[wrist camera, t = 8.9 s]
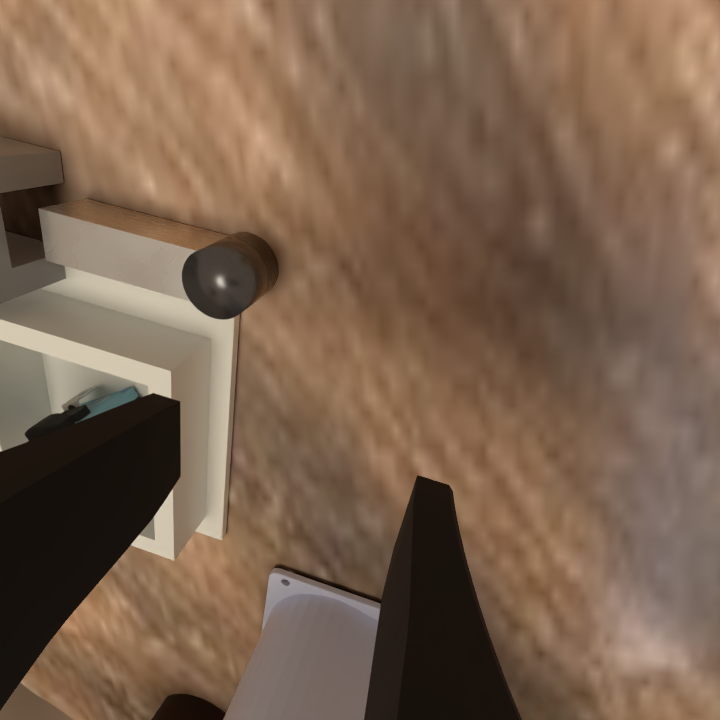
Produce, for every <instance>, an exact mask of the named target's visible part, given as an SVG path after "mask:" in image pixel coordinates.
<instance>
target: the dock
mask: <svg viewBox="0 0 720 720" xmlns="http://www.w3.org/2000/svg"><path fill="white" fill-rule="evenodd" d="M60 183H64V180H63V172H62V163H61V155H60V151H56V150H52V149H48V148H44V147H40V146H36V145H32V144H28V143H24V142H20V141H16V140H12V139H8V138H4V137H0V193H3V192H10V191H16V190H22V189H28V188H35V187H41V186H47V185H54V184H60ZM239 320H240V314H239V315H238V316H236V317H234V318H231V319H225V320H221V319H215V318H212V317H209V316H207V315H205V314H203V313H202V312H201V311H199V310H198V309H197V308H196V307H195V306H194V305H193V304H192V303H191V302H190V301H187V300H183V299H180V298H176V297H173V296H169V295H166V294H162V293H159V292H155V291H151V290H148V289H144V288H141V287H137V286H134V285H130V284H127V283H123V282H120V281H116V280H113V279H109V278H105V277H102V276H98V275H95V274H91V273H88V272H84V271H81V270H77V269H74V268H70V267H66V266H63V265H59V264H56V263H52V262H49V261H46V257H45V250H44V244H43V241H40V240H36V239H33V238H29V237H25V236H22V235H18V234H15V233H11V232H7V231H5V228H4V223H3V218H2V212H1V207H0V452H1V451H4V450H7V449H10V448H12V447H15V446H18V445H21V444H23V443H26V442H28V441H29V440H28V439H27V437H26V436H25V432H26V431H27V430H28V429H29V428H31V427H32V426H34V425H35V424H36V423H38V422H39V421H41V420H42V419H44V418H45V417H47V416H49V415H51V414H55V413H62V412H64V410H63V409H62V407H61V406H62V405H63V404H65V403H67V401H69V400H70V399H72V398H73V397H75V396H76V395H78V394H79V393H81V392H82V391H84V390H86V389H88V388H91V387H94V386H98V388H97V389H95V390H94V391H92V392H91V393H89V394H88V395H86V396H85V397H84V398H82V399H80V400H79V403H80V404H82V403H85V402H88V401H91V400H94V399H97V398H100V397H103V396H106V395H109V394H112V393H115V392H118V391H121V390H124V389H125V388H128V387H131V386H132V387H133V388H134V390H135V391H136V393H137V394H138V396H139V397H143V396H146V395H149V394H152V393H155V394H158V395H162V396H165V397H168V398H171V399H174V400H178V401H180V427H181V477H180V478H179V480H178V481H177V483H176V484H175V486H174V487H173V489H172V491H171V492H170V494H169V495H168V497H167V498H166V500H165V501H164V503H163V504H162V506H161V507H160V509H159V510H158V512H157V513H156V515H155V516H154V518H153V519H152V520H151V521H150V523H149V524H148V525H147V526H146V527H145V529H144V530H143V531H142V532H141V533H140V535H139V536H138V537H137V538H136V539H135V540H134V542H133V543H132V544H131V545H132V546H134V547H137V548H140V549H143V550H146V551H148V552H151V553H154V554H157V555H160V556H162V557H165V558H168V559H171V560H175V559H176V557H177V556H178V555H179V553H180V552H181V550H182V549H183V547H184V546H185V545H186V543H187V542H188V540H189V539H190V538H191V536H192V535H193V533H194V532H195V531H196V532H199V533H202V534H205V535H207V536H210V537H213V538H216V539H219V540H222V539H223V538H224V536H225V535H226V527H227V511H228V495H229V479H230V463H231V447H232V431H233V415H234V400H235V384H236V368H237V352H238V336H239Z"/></svg>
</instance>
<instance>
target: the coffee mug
mask: <svg viewBox="0 0 720 720" xmlns="http://www.w3.org/2000/svg"><path fill="white" fill-rule="evenodd" d="M224 717H225V713H224V712H223V711H221V710H220V709H219V708H217V707H216V706H214V705H212V704H211V703H209V702H207V701H205V700H202V699H200V698H197V697H194V696H190V695H184V694H174V695H171V696H169V697H167V698H166V699H165V701H164V702H163V704H162V705H161V707H160V708H159V710H158V711H157V712H156V714H155V715H154V717H153V718H152V720H223V719H224Z"/></svg>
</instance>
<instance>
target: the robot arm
mask: <svg viewBox="0 0 720 720" xmlns="http://www.w3.org/2000/svg"><path fill="white" fill-rule="evenodd" d="M180 477H181V427H180V401H178V400H174V399H171V398H168V397H165V396H162V395H158V394H155V393H152V394H149V395H146V396H143V397H140V398H138V399H135V400H133V401H130V402H127V403H125V404H122V405H120V406H117V407H115V408H112V409H110V410H107V411H105V412H103V413H100V414H98V415H95V416H93V417H90V418H88V419H85V420H83V421H80V422H78V423H75V424H73V425H70V426H68V427H65V428H63V429H60V430H58V431H55V432H52V433H50V434H47V435H45V436H42V437H40V438H37V439H35V440H32V441H29V442H26V443H23V444H21V445H18V446H15V447H12V448H10V449H7V450H4V451H1V452H0V710H1V709H2V707H3V706H4V704H5V703H6V701H7V700H8V699H9V697H10V696H11V694H12V693H13V691H14V690H15V689H16V687H17V686H18V685H19V683H20V682H21V680H22V679H23V678H24V676H25V675H26V673H27V672H28V671H29V669H30V668H31V666H32V665H33V664H34V662H35V661H36V660H37V658H38V657H39V655H40V654H41V653H42V651H43V650H44V648H45V647H46V646H47V644H48V643H49V641H50V640H51V639H52V638H53V636H54V635H55V634H56V633H57V631H58V630H59V629H60V628H61V626H62V625H63V624H64V623H65V621H66V620H67V619H68V618H69V616H70V615H71V614H72V613H73V612H74V610H75V609H76V608H77V607H78V606H79V605H80V603H81V602H82V601H83V600H84V599H85V598H86V596H87V595H88V594H89V593H90V592H91V591H92V590H93V588H94V587H95V586H96V585H97V584H98V583H99V581H100V580H101V579H102V578H103V577H104V576H105V574H106V573H107V572H108V571H109V570H110V569H111V567H112V566H113V565H114V564H115V563H116V562H117V560H118V559H119V558H120V557H121V556H122V555H123V553H124V552H125V551H126V550H127V549H128V548H129V546H130V545H131V544H132V543H133V542H134V540H135V539H136V538H137V537H138V536H139V535H140V533H141V532H142V531H143V530H144V529H145V527H146V526H147V525H148V524H149V523H150V521H151V520H152V519H153V518H154V516H155V515H156V513H157V512H158V510H159V509H160V507H161V506H162V504H163V503H164V501H165V500H166V498H167V497H168V495H169V494H170V492H171V491H172V489H173V487H174V486H175V484H176V483H177V481H178V480H179V478H180ZM223 720H522V719H521V717H520V714H519V712H518V709H517V707H516V705H515V702H514V700H513V697H512V695H511V692H510V690H509V687H508V685H507V682H506V680H505V677H504V674H503V672H502V669H501V666H500V664H499V661H498V658H497V656H496V653H495V650H494V647H493V644H492V641H491V638H490V636H489V633H488V630H487V627H486V624H485V621H484V618H483V615H482V612H481V608H480V605H479V602H478V599H477V595H476V592H475V588H474V585H473V582H472V578H471V575H470V571H469V568H468V564H467V560H466V556H465V552H464V548H463V544H462V540H461V535H460V531H459V526H458V521H457V516H456V510H455V504H454V497H453V491H452V489H451V487H450V486H449V485H447V484H444V483H441V482H437V481H434V480H431V479H428V478H425V477H421V476H418V475H417V479H416V482H415V485H414V488H413V491H412V494H411V497H410V500H409V503H408V506H407V509H406V512H405V516H404V519H403V522H402V525H401V528H400V531H399V534H398V537H397V540H396V543H395V546H394V550H393V554H392V558H391V562H390V566H389V570H388V574H387V579H386V583H385V587H384V591H383V595H382V600H381V604H380V603H377V602H375V601H372V600H369V599H366V598H363V597H360V596H357V595H355V594H352V593H349V592H346V591H343V590H340V589H337V588H335V587H332V586H329V585H326V584H323V583H320V582H317V581H314V580H312V579H309V578H306V577H303V576H300V575H297V574H294V573H292V572H289V571H286V570H283V569H280V568H274V569H273V570H272V571H271V573H270V575H269V581H268V589H267V596H266V603H265V610H264V618H263V625H262V632H261V636H260V638H259V640H258V642H257V645H256V647H255V649H254V651H253V654H252V656H251V658H250V660H249V663H248V665H247V667H246V669H245V672H244V674H243V676H242V678H241V681H240V683H239V685H238V687H237V690H236V692H235V694H234V696H233V699H232V701H231V703H230V705H229V708H228V710H227V712H226V714H225V717H224V719H223Z"/></svg>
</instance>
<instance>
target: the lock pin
mask: <svg viewBox="0 0 720 720" xmlns="http://www.w3.org/2000/svg"><path fill="white" fill-rule="evenodd" d="M38 210H39V217H40V224H41V230H42V237H43V244H44V250H45V257H46V261H49V262H52V263H56V264H59V265H63V266H66V267H70V268H74V269H77V270H81V271H84V272H88V273H91V274H95V275H98V276H102V277H105V278H109V279H113V280H116V281H120V282H123V283H127V284H130V285H134V286H137V287H141V288H144V289H148V290H151V291H155V292H159V293H162V294H166V295H169V296H173V297H176V298H180V299H183V300H187V301H190V302H191V303H192V304H193V305H194V306H195V307H196V308H197V309H198V310H199V311H201V312H202V313H203V314H205V315H207V316H209V317H212V318H215V319H221V320H225V319H231V318H234V317H236V316H238V315H239V314H240V313H241V312H243V311H244V310H245V309H247V308H248V307H249V306H250V305H252V304H253V303H254V302H255V301H257V300H258V299H259V298H261V297H262V296H263V295H264V294H266V293H267V292H268V291H269V290H270V289H271V288H272V287H273V286H274V284H275V282H276V280H277V276H278V264H277V260H276V257H275V255H274V253H273V251H272V249H271V248H270V247H269V245H268V244H267V243H266V242H265V241H263V240H262V239H261V238H259V237H258V236H255V235H253V234H250V233H243V232H241V233H235V234H232V235H230V236H228V235H225V234H221V233H217V232H213V231H209V230H205V229H202V228H198V227H194V226H190V225H186V224H182V223H178V222H175V221H171V220H167V219H163V218H159V217H155V216H152V215H148V214H144V213H140V212H136V211H132V210H129V209H125V208H121V207H117V206H113V205H109V204H106V203H102V202H98V201H94V200H90V199H82V200H77V201H72V202H67V203H62V204H58V205H53V206H48V207H43V208H38Z"/></svg>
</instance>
